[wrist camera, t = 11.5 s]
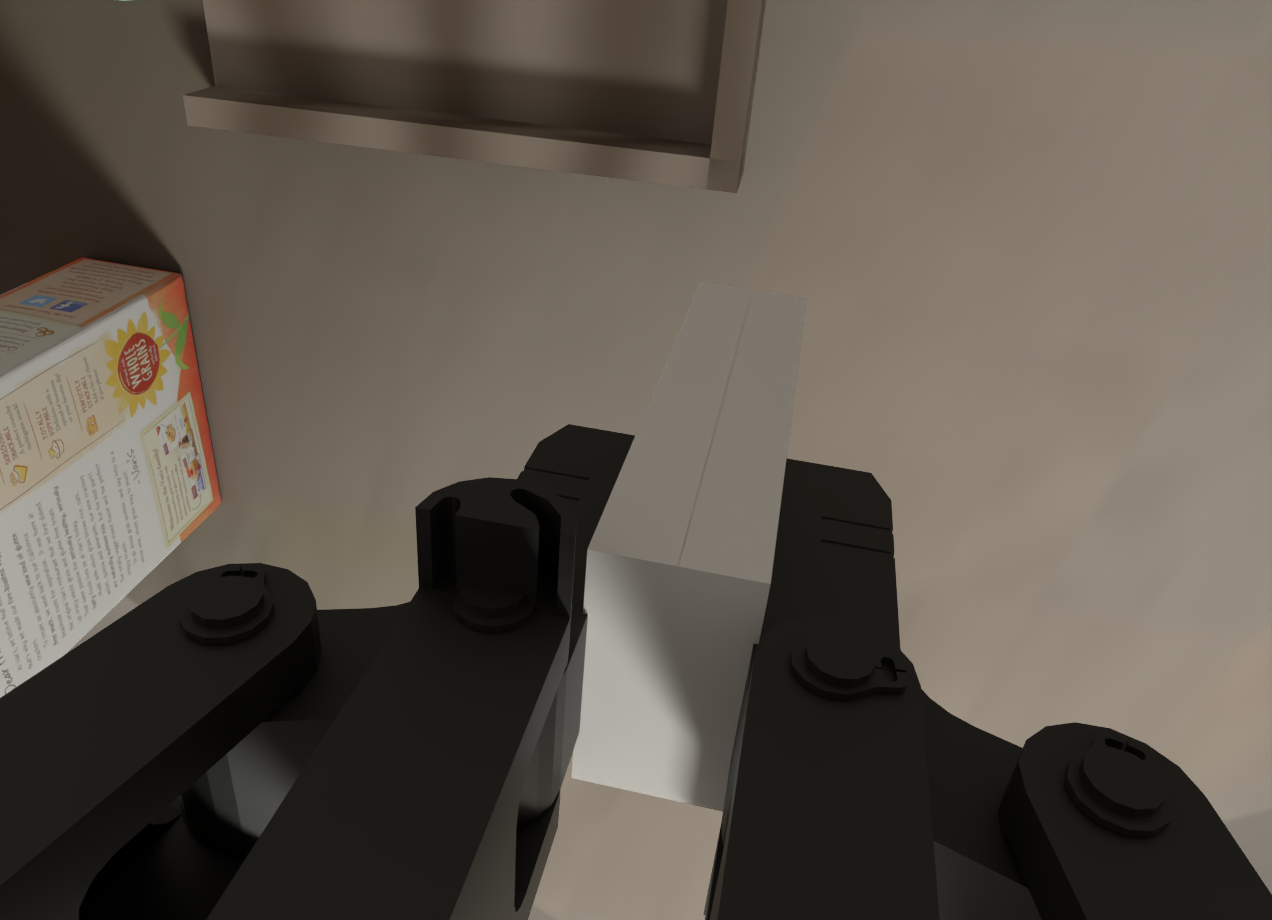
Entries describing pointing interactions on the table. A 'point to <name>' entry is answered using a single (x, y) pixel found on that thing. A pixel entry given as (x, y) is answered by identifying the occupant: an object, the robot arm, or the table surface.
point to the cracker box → (93, 450)
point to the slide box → (497, 81)
